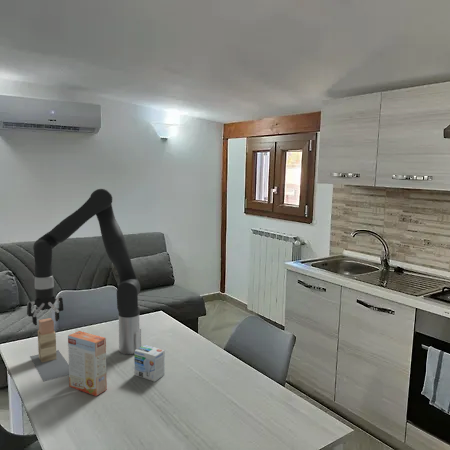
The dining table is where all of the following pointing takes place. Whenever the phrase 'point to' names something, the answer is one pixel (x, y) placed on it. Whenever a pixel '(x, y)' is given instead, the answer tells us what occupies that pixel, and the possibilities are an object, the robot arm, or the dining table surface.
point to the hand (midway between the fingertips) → (46, 322)
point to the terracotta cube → (46, 326)
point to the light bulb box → (149, 362)
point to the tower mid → (46, 340)
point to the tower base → (47, 353)
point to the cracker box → (87, 362)
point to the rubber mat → (51, 367)
